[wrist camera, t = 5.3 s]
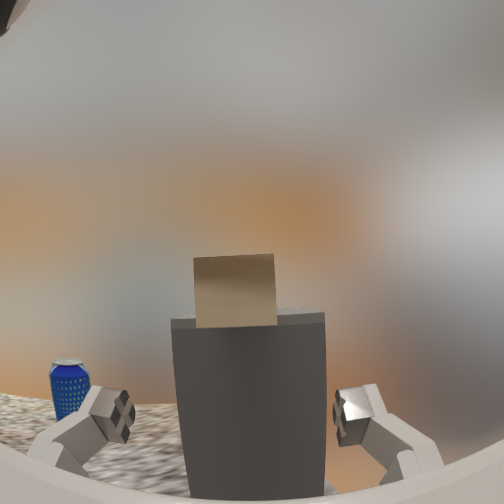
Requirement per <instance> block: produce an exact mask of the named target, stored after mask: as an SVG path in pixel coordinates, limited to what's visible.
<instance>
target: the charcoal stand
mask: <svg viewBox="0 0 504 504" xmlns="http://www.w3.org/2000/svg"><path fill="white" fill-rule="evenodd" d="M324 315H325V314H324V312H321V311H317V310H312V309H308V308H303V307H302V308H301V307H300V308H285V309H277V325H266V326H245V327H213V328H196V315H195V314H192V315H187V316H183V317H177V318H172V319H171V334H172V350H173V364H174V375H175V386H176V396H177V406H178V414H179V423H180V430H181V438H182V445H183V452H184V459H185V465H186V471H187V477H188V483H189V488H190V494H191V498H195V499H208V500H225V501H272V500H289V499H302V498H311V497H320V496H323V493H324V476H325V454H326V409H327V406H326V405H327V402H326V401H327V399H326V398H327V397H326V394H327V392H326V391H327V390H326V388H327V386H326V340H325V316H324Z"/></svg>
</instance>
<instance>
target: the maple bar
mask: <svg viewBox="0 0 504 504" xmlns="http://www.w3.org/2000/svg"><path fill="white" fill-rule="evenodd" d="M194 291H195V315H196V328H213V327H245V326H266V325H277V307H276V288H275V271H274V255H273V254H256V255H239V256H219V257H201V258H194Z"/></svg>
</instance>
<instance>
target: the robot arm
mask: <svg viewBox="0 0 504 504" xmlns="http://www.w3.org/2000/svg"><path fill="white" fill-rule="evenodd" d="M29 2H30V0H0V37H1V36H2V35H4V34H5V33H6V32H7V31H8V30H9V28H10V26H11V25H12V24H13V23H14V22H15V21H16V20H17V19H18V17H19V16H20V15H21V14H22V12H23V11H24V10H25V8H26V6H27V5H28V4H29ZM335 397H336V401H335V402H334V405H333V420H334V425H335V426H336V427H338V429H337V439H338V443H339V447H344V446H352V445H359V444H361V446H362V447H363V448H364V449H365V450H366V451H367V452H368V453H369V454H371V456H373V457H374V458H375V459H376V460H377V461H378V462H379V463H380V464H381V465H382V466H383V467H384V468H385V469H386V470H387V472H386V474H385V475H384V477H383V478H382V480H381V481H380V483H379V485H380V486H376V487H372V488H367V489H362V490H357V491H352V492H346V493H341V494H334V495H327V496H320V497H311V498H302V499H289V500H272V501H225V500H208V499H195V498H186V497H177V496H170V495H163V494H156V493H151V492H145V491H140V490H135V489H130V488H125V487H121V486H117V485H113V484H109V483H105V482H101V481H97V480H94V479H90V478H89V475H88V473H87V472H86V471H85V470H84V469H83V468H82V467H81V466H82V465H83V464H85V463H86V462H87V461H88V460H89V459H90V458H91V457H93V456H94V455H95V454H96V453H97V452H98V451H99V450H100V449H101V448H103V447H104V446H105V445H106V444H107V443H108V441H110V442H115V443H121V444H126V443H127V440H128V437H129V435H130V430H129V427H130V426H131V425H133V423H134V420H135V408H134V405H133V404H132V402H130V401H129V400H128V398H129V395H128V393H127V391H126V390H121V389H114V388H108V387H101V386H95V385H94V386H92V387H91V388H90V390H89V391H88V393H87V395H86V397H85V399H84V401H83V403H82V404H81V406H80V408H79V410H78V412H76V411H75V412H73V413H71V414H70V415H68V416H67V417H65V418H63V419H62V420H60V421H59V422H57V423H55V424H54V425H52V426H50V427H49V428H47V429H45V430H44V431H42V432H41V433H39V434H37V436H36V437H35V439H34V441H33V443H32V445H31V447H30V448H29V450H28V452H27V454H26V455H25V454H23V453H21V452H19V451H17V450H14V449H12V448H10V447H8V446H6V445H4V444H2V443H0V504H504V439H503V440H501V441H499V442H497V443H495V444H493V445H491V446H489V447H487V448H485V449H483V450H481V451H479V452H476V453H475V454H472V455H470V456H468V457H465V458H463V459H460V460H458V461H456V462H453V463H450V464H448V465H446V466H444V463H443V461H442V459H441V456H440V454H439V451H438V449H437V447H436V445H435V442H434V441H433V440H431V439H430V438H428V437H427V436H425V435H423V434H422V433H420V432H419V431H417V430H416V429H414V428H413V427H411V426H410V425H408V424H407V423H405V422H404V421H402V420H401V419H399V418H398V417H396V416H395V415H393V414H391V413H390V414H388V413H387V410H386V408H385V405H384V403H383V400H382V398H381V395H380V393H379V390H378V388H377V385H376V384H369V385H363V386H356V387H349V388H341V389H337V390H336V394H335Z"/></svg>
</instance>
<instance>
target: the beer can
mask: <svg viewBox="0 0 504 504" xmlns="http://www.w3.org/2000/svg"><path fill="white" fill-rule="evenodd" d="M49 378H50V385H51V391H52V397H53V402H54V408H55V413H56V417H57V422H59V421H60V420H62V419H63V418H65V417H67V416H68V415H70V414H71V413H73V412H75V411H76V412H78V410H79V408H80V406H81V404H82V403H83V401H84V399H85V397H86V395H87V393H88V391H89V390H90V388H91V385H90V377H89V372H88V370H87V369H86V367H85V366H84V364H83V360H81V359H76V358H59V359H54V360H52V366H51V368H50V370H49Z"/></svg>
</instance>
